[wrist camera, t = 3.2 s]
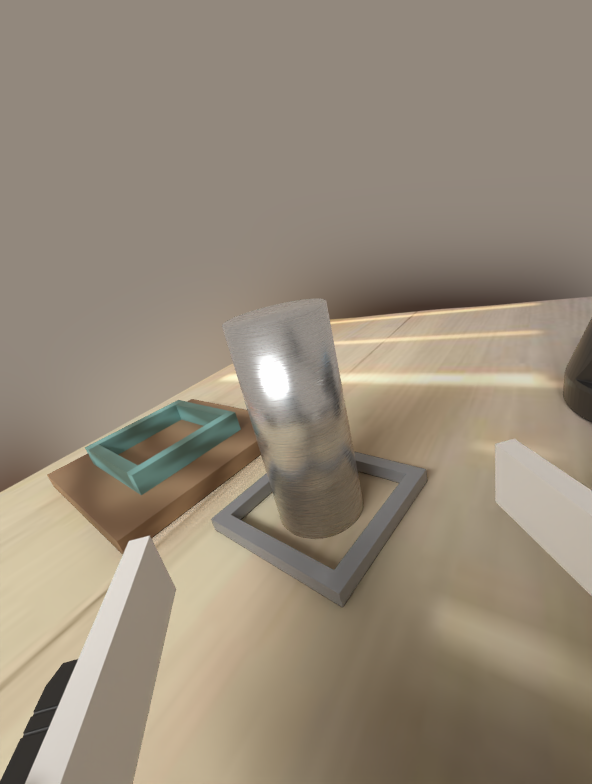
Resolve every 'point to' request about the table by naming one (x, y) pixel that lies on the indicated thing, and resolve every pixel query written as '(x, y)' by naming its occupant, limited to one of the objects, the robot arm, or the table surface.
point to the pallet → (157, 468)
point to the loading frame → (359, 556)
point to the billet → (298, 414)
